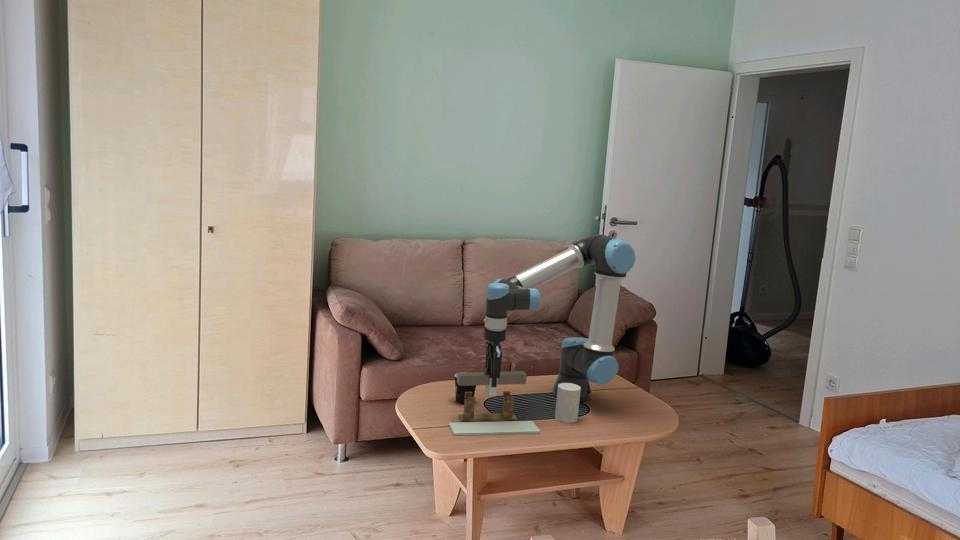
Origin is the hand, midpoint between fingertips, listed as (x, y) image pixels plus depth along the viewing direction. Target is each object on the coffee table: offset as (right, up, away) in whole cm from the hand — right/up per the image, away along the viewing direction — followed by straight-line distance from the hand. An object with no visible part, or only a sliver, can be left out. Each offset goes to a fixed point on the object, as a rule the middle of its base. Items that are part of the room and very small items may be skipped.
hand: (490, 392), depth 255 cm
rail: (0, +4, -1) cm, 4 cm away
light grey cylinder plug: (+27, -11, +8) cm, 30 cm away
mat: (+1, -11, -7) cm, 13 cm away
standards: (-1, -9, +2) cm, 10 cm away
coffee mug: (-9, -6, +18) cm, 21 cm away
